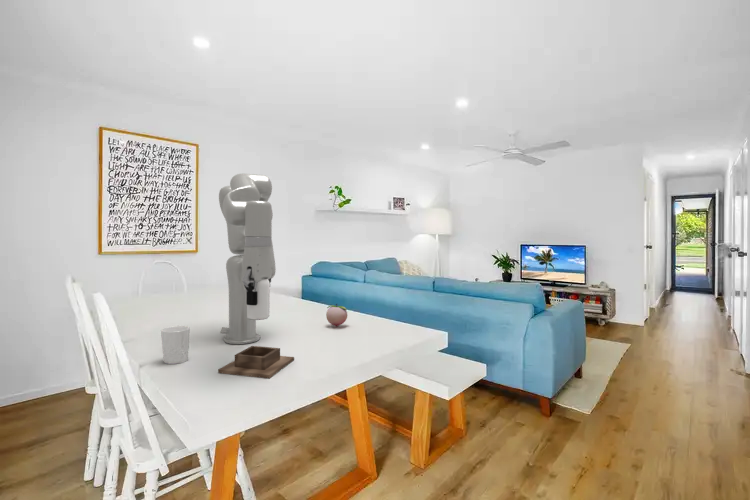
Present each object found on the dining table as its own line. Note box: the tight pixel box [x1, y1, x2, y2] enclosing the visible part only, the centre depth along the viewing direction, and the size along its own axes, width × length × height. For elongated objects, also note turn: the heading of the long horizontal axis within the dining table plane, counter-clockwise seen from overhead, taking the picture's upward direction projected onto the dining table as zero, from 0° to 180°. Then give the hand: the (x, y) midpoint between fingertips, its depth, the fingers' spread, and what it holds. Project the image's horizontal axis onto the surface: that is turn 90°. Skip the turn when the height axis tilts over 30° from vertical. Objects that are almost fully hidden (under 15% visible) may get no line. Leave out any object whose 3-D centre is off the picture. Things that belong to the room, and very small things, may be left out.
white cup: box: [160, 325, 191, 365], centre depth 121 cm, size 8×8×10 cm
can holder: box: [217, 345, 295, 379], centre depth 117 cm, size 16×16×4 cm
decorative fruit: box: [326, 303, 348, 328], centre depth 167 cm, size 9×8×10 cm
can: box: [247, 278, 271, 321], centre depth 116 cm, size 6×6×12 cm
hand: (258, 302), depth 116 cm, fingers closed on can, 6 cm apart
